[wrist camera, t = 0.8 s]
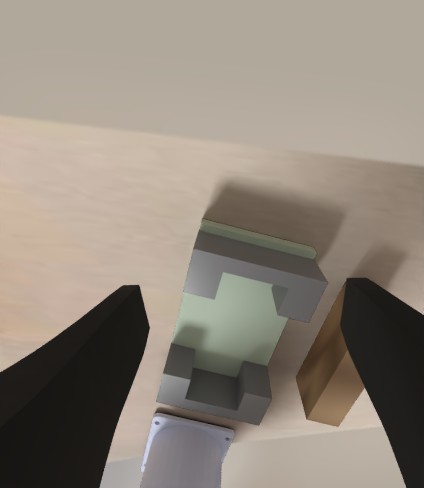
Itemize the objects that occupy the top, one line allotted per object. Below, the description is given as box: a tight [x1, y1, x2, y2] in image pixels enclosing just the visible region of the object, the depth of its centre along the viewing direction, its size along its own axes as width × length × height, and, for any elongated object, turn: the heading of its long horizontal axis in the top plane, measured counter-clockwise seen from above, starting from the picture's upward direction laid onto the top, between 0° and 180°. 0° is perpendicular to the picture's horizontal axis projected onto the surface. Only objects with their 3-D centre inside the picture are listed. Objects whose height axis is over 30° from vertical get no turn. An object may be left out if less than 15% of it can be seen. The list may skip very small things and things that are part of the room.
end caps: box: [156, 230, 328, 425], centre depth 20 cm, size 13×8×3 cm, turn 166°
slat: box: [296, 282, 365, 427], centre depth 21 cm, size 10×2×4 cm, turn 166°
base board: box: [172, 219, 317, 378], centre depth 22 cm, size 14×8×1 cm, turn 166°
